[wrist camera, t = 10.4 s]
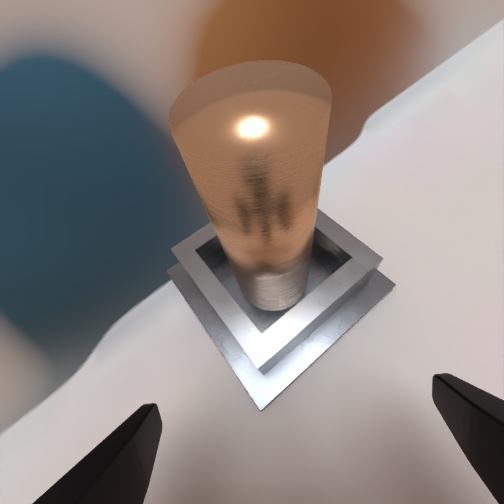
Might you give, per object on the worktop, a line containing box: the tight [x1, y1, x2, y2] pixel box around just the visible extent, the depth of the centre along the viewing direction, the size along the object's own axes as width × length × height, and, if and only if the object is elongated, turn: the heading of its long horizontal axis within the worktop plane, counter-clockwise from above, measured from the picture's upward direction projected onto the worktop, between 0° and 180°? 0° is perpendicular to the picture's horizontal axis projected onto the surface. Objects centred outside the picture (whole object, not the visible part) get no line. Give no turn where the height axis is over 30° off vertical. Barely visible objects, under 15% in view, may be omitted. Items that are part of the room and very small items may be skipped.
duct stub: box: [167, 208, 396, 411], centre depth 18 cm, size 12×12×4 cm
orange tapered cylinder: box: [168, 60, 332, 311], centre depth 13 cm, size 5×5×13 cm
